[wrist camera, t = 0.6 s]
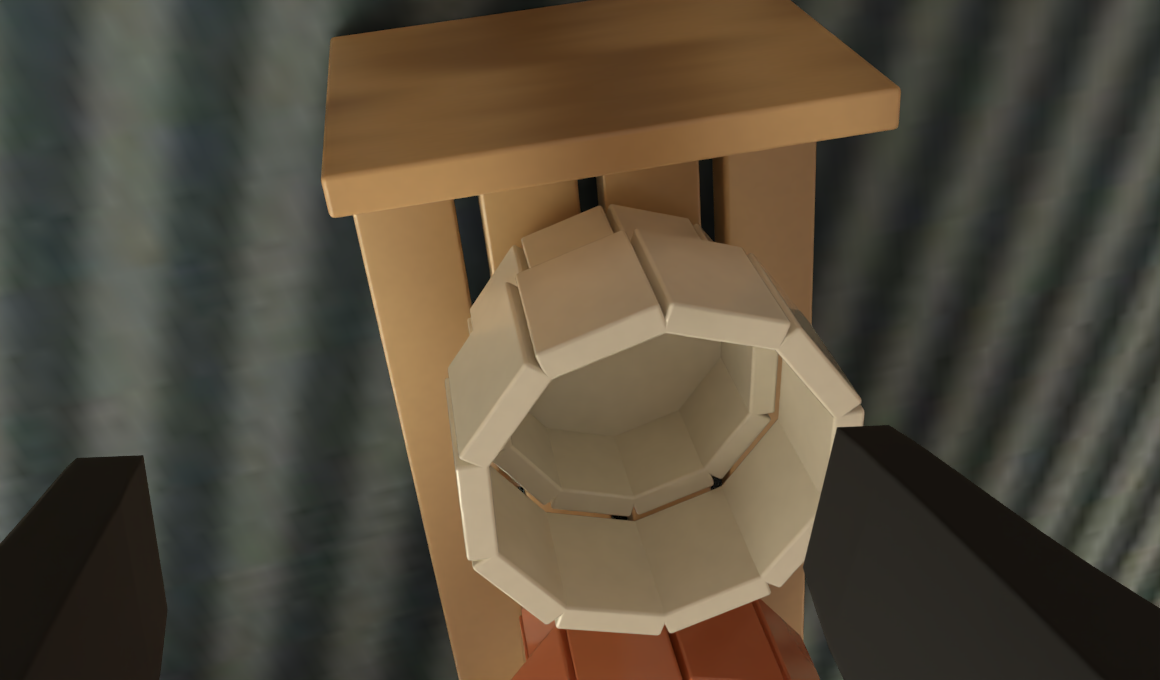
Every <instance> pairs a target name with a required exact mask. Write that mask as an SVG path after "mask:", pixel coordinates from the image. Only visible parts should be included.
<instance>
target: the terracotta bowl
mask: <svg viewBox="0 0 1160 680" xmlns="http://www.w3.org/2000/svg"><path fill="white" fill-rule="evenodd" d="M521 614H522V615H520V616H519V626H520V636H521V646H522V656H523V665H522V667H521V668H520V669H519V670H518V671H517V673H516V674H515V675H514V676H513V678H512V679H511V680H820V678H819V676H818V673H817V671H816V669H815V667H814V665H813V662H812V660H811V658H810V656H809V653H808V651H807V649H806V647H805V645H804V642H803V640H802V638H801V636H800V635H799V634H798V633H797V632H796V631H795V630H794V629H793V628H792V627H791V626H789V625H788V624H787V623H786V622H785V621H784V620H783V619H782V618H781V617H780V616H779V615H778V614H777V613H775V612H774V611H773V610H772V609H771V608H770V607H769V606H768V605H767V604H766V603H765V602H764V601H762V600H761V599H758V600H755V601H753V602H750V603H748V604H745V605H743V606H740V607H738V608H735V609H733V610H730V611H728V612H725V613H723V614H720V615H717V616H715V617H712V618H710V619H707V620H705V621H702V622H700V623H697V624H695V625H692V626H690V627H687V628H685V629H682V630H680V631H677V632H674V633H669V632H668V630H667V628H666V626H665V625H664V627H663V629H662V632H661V634H660V635H658V636H656V635H642V634H628V633H613V632H599V631H585V630H571V629H558V628H556V625H555V620H554V621H552V622H551V623H550V624H544V623H543V622H542V621H541V620H539V619H538V618H537V617H535V616H534V615H533V614H531V613H530V612H529V611H527V610H526V609H525V608H522V610H521Z"/></svg>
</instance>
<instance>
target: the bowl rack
mask: <svg viewBox="0 0 1160 680" xmlns="http://www.w3.org/2000/svg"><path fill="white" fill-rule="evenodd" d="M900 97H901V90H900V88H899V87H898V86H897V85H896V84H895V83H893V82H892V81H891V80H890V79H888V78H887V77H886V76H885V75H883V74H882V73H881V72H880V71H878V70H877V69H876V68H875V67H873V66H872V65H871V64H870V63H868V62H867V61H866V60H865V59H863V58H862V57H861V56H860V55H858V54H857V53H856V52H855V51H853V50H852V49H851V48H850V47H848V46H847V45H846V44H845V43H843V42H842V41H841V40H840V39H838V38H837V37H836V36H835V35H833V34H832V33H831V32H830V31H828V30H827V29H826V28H825V27H823V26H822V25H821V24H820V23H818V22H817V21H816V20H815V19H813V18H812V17H811V16H809V15H808V14H807V13H806V12H804V11H803V10H802V9H801V8H799V7H798V6H797V5H796V4H794V3H793V2H792V1H791V0H591V1H584V2H577V3H570V4H563V5H556V6H549V7H542V8H535V9H528V10H521V11H514V12H507V13H500V14H493V15H486V16H479V17H472V18H465V19H458V20H451V21H444V22H437V23H430V24H423V25H416V26H409V27H402V28H395V29H388V30H381V31H374V32H367V33H360V34H353V35H346V36H339V37H333V38H332V39H331V41H330V54H329V69H328V84H327V99H326V114H325V129H324V144H323V159H322V174H321V183H322V187H323V191H324V195H325V200H326V204H327V208H328V212H329V214H330V215H331V217H333V218H338V217H344V216H350V215H353V218H354V222H355V227H356V231H357V235H358V240H359V244H360V249H361V253H362V257H363V262H364V266H365V271H366V275H367V279H368V284H369V288H370V292H371V297H372V301H373V306H374V310H375V314H376V319H377V323H378V328H379V332H380V336H381V341H382V345H383V349H384V354H385V358H386V363H387V367H388V371H389V376H390V380H391V385H392V389H393V393H394V398H395V402H396V406H397V411H398V415H399V420H400V424H401V428H402V433H403V437H404V442H405V446H406V450H407V455H408V459H409V463H410V468H411V472H412V477H413V481H414V485H415V490H416V494H417V499H418V503H419V507H420V512H421V516H422V520H423V525H424V529H425V534H426V538H427V542H428V547H429V551H430V556H431V560H432V564H433V569H434V573H435V577H436V582H437V586H438V591H439V595H440V599H441V604H442V608H443V613H444V617H445V621H446V626H447V630H448V634H449V639H450V643H451V648H452V652H453V656H454V661H455V665H456V670H457V674H458V678H459V680H511V679H512V678H513V676H514V675H515V674H516V673H517V671H518V670H519V669H520V668H521V667H522V665H523V656H522V646H521V636H520V626H519V616H520V615H522V614H521V610H522V608H523V607H522V606H521V605H519V604H518V603H517V602H516V601H514V600H513V599H512V598H510V597H509V596H508V595H506V594H505V593H504V592H502V591H501V590H500V589H498V588H497V587H496V586H494V585H493V584H492V583H491V582H489V581H488V580H487V579H485V578H484V577H483V576H481V575H480V574H479V573H477V572H476V571H475V570H474V569H473V567H472V561H469V560H468V559H467V557H466V549H465V542H464V534H463V526H462V519H461V511H460V503H459V496H458V488H457V481H456V473H455V465H454V457H453V448H452V440H451V432H450V424H449V415H448V407H447V399H446V390H445V379H446V378H449V377H448V367H449V365H450V364H451V362H452V361H453V359H454V358H455V357H456V355H457V354H458V352H459V351H460V349H461V348H462V346H463V345H464V343H465V342H466V340H467V339H468V337H469V333H468V324H467V320H468V318H470V317H471V316H470V308H471V307H472V303H471V297H470V291H469V285H468V279H467V274H466V268H465V262H464V256H463V250H462V244H461V239H460V233H459V227H458V221H457V215H456V209H455V203H454V199H458V198H464V197H470V196H477V195H478V201H479V207H480V214H481V220H482V226H483V233H484V239H485V245H486V252H487V258H488V264H489V271H490V277H492V275H493V274H494V272H495V271H496V269H497V268H498V266H499V265H500V263H501V262H502V260H503V259H504V257H505V256H506V254H507V253H508V251H509V250H510V248H511V247H512V246H513V245H516V246H518V247H520V248H522V249H523V247H522V243H521V238H522V237H524V236H527V235H529V234H532V233H534V232H536V231H539V230H541V229H544V228H546V227H548V226H551V225H553V224H556V223H558V222H560V221H563V220H565V219H568V218H570V217H572V216H575V215H577V214H580V213H581V210H580V200H579V190H578V181H577V179H584V178H590V177H596V183H597V194H598V205H599V206H602V207H603V210H604V212H605V214H606V213H607V210H608V207H609V205H610V204H614V205H619V206H625V207H630V208H635V209H641V210H646V211H651V212H657V213H662V214H667V215H673V216H678V217H683V218H688V219H690V221H691V222H692V224H693V225H694V224H699V225H700V226H701V209H700V181H699V160H704V159H710V158H712V160H713V195H714V230H715V242H716V243H722V244H727V245H733V246H738V247H741V248H743V249H744V251H745V253H746V254H749V253H752V254H754V255H755V256H756V258H757V259H758V260H759V261H760V262H761V264H762V265H763V266H764V267H765V269H766V270H767V271H768V272H769V273H770V275H771V276H772V277H773V278H774V280H775V281H776V282H777V283H778V284H779V286H780V287H781V288H782V289H783V290H784V292H785V293H786V294H787V295H788V297H789V298H790V299H791V300H792V301H793V303H794V304H795V305H796V306H797V308H798V309H799V310H800V311H801V312H802V314H803V315H804V316H805V317H806V319H807V320H808V321H809V322H810V324H811V325H812V290H813V253H814V215H815V178H816V142H817V141H823V140H830V139H836V138H842V137H849V136H855V135H861V134H868V133H874V132H880V131H886V130H893V129H896V128H898V125H899V112H900ZM781 371H782V358H781V356H780V355H779V356H778V370H777V385H776V400H775V411H774V412H773V413H769V414H768V415H769V416H770V418H771V420H770V422H769V423H768V425H767V426H766V427H765V428H764V429H763V431H762V432H761V433H760V434H759V435H758V437H757V438H756V439H755V440H754V441H753V443H752V444H751V445H750V446H749V447H748V449H747V450H746V451H745V452H744V453H743V455H742V456H741V457H740V458H739V459H738V461H737V462H736V463H735V464H734V465H733V467H732V468H731V469H730V470H729V471H728V473H727V474H726V475H725V476H724V477H723V478H722V485H723V484H724V482H725V481H726V480H727V479H728V478H729V476H730V475H731V474H732V473H733V472H734V470H735V469H736V468H737V467H738V466H739V464H740V463H741V462H742V461H743V460H744V458H745V457H746V456H747V455H748V454H749V452H750V451H751V450H752V449H753V448H754V447H755V445H756V444H757V443H758V442H759V441H760V439H761V438H762V437H763V436H764V435H765V433H766V432H767V431H768V430H769V429H770V427H771V426H772V425H773V424H774V423H775V421H776V420H777V419H778V414H779V399H780V385H781ZM491 466H492V467H493V468H494V469H495V470H496V471H498V472H499V473H500V474H501V475H502V476H504V477H505V478H506V479H507V480H508V481H510V482H511V483H512V484H513V485H514V486H515V487H522V486H520V485H519V484H518V483H517V482H516V481H514V480H513V479H512V478H511V477H510V476H509V475H507V474H506V473H505V472H504V471H503V470H501V469H500V468H499V467H498V466H497V465H496V464H494V463H493V462H492V463H491ZM708 491H711V487H708V488H706V489H703V490H701V491H698V492H696V493H693V494H691V495H688V496H686V497H683V498H681V499H678V500H676V501H673V502H671V503H668V504H666V505H663V506H661V507H658V508H656V509H653V510H651V511H648V512H646V513H643V514H641V515H638V514H637V513H636V511H635V509H634V507H633V510H632V512H631V515H630V516H628V517H627V520H630V521H636V520H638V519H641V518H643V517H646V516H648V515H651V514H653V513H656V512H658V511H661V510H663V509H666V508H668V507H671V506H673V505H676V504H678V503H681V502H683V501H686V500H688V499H691V498H693V497H696V496H698V495H701V494H703V493H706V492H708ZM524 493H525V495H526V496H527V497H529V498H530V499H531V500H532V501H533V502H534V503H536V504H537V505H538V506H539V507H540V508H542V509H543V510H544V511H545V512H551V513H561V514H571V515H580V516H590V517H600V518H610V519H612V515H607V514H597V513H587V512H578V511H568V510H558V509H553V508H552V507H551V503H550V502H549V503H547V504H546V505H543V504H542V503H540V502H539V501H538V500H537V499H536V498H535V497H533V496H532V495H531V494H530V493H529V492H527V491H526V490H525V489H524ZM803 564H804V562H803V563H802V565H801V566H800V567H799V568H798V569H797V570H796V571H795V572H794V573H793V574H792V576H791V577H790V578H789V579H788V580H787V581H786V582H785V583H784V584H783V585H782V586H781V587H776V586H773V585H771V584H769V587H770V589H771V594H770V595H768V596H766V597H763V598H761V600H762V601H764V602H765V603H766V604H767V605H768V606H769V607H770V608H771V609H772V610H773V611H774V612H775V613H777V614H778V615H779V616H780V617H781V618H782V619H783V620H784V621H785V622H786V623H787V624H788V625H789V626H791V627H792V628H793V629H794V630H795V631H796V632H797V633H798V634H799V635H800V636H801V638H802V640H803V628H804V590H805V573H804V570H803Z"/></svg>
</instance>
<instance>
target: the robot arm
mask: <svg viewBox="0 0 1160 680" xmlns="http://www.w3.org/2000/svg"><path fill="white" fill-rule="evenodd" d="M803 570H804V573H805V576H806V580H807V583H808V586H809V589H810V592H811V596H812V599H813V602H814V605H815V609H816V612H817V615H818V618H819V620H820V623H821V626H822V629H823V632H824V635H825V638H826V641H827V643H828V646H829V649H830V651H831V654H832V656H833V658H834V660H835V662H836V664H837V666H838V669H839V671H840V673H841V675H842V677H843V679H844V680H1160V608H1159V607H1157V606H1155V605H1154V604H1152V603H1150V602H1149V601H1147V600H1145V599H1144V598H1142V597H1141V596H1139V595H1137V594H1136V593H1134V592H1133V591H1131V590H1130V589H1128V588H1126V587H1125V586H1123V585H1122V584H1120V583H1119V582H1117V581H1115V580H1114V579H1112V578H1111V577H1109V576H1107V575H1106V574H1104V573H1103V572H1101V571H1100V570H1098V569H1096V568H1095V567H1093V566H1092V565H1090V564H1089V563H1087V562H1086V561H1084V560H1083V559H1081V558H1080V557H1078V556H1077V555H1075V554H1074V553H1072V552H1071V551H1069V550H1068V549H1066V548H1065V547H1063V546H1062V545H1060V544H1059V543H1057V542H1056V541H1054V540H1053V539H1052V538H1050V537H1049V536H1047V535H1046V534H1044V533H1043V532H1041V531H1040V530H1038V529H1037V528H1036V527H1034V526H1033V525H1031V524H1030V523H1028V522H1027V521H1026V520H1024V519H1023V518H1021V517H1020V516H1019V515H1017V514H1016V513H1014V512H1013V511H1011V510H1010V509H1009V508H1007V507H1006V506H1004V505H1003V504H1002V503H1000V502H999V501H997V500H996V499H995V498H993V497H992V496H990V495H989V494H988V493H986V492H985V491H984V490H982V489H981V488H979V487H978V486H977V485H975V484H974V483H972V482H971V481H970V480H968V479H967V478H965V477H964V476H963V475H961V474H960V473H959V472H957V471H956V470H954V469H953V468H952V467H950V466H949V465H947V464H946V463H945V462H943V461H942V460H940V459H939V458H938V457H936V456H935V455H933V454H932V453H930V452H929V451H928V450H926V449H925V448H923V447H922V446H920V445H919V444H917V443H916V442H915V441H913V440H912V439H910V438H909V437H907V436H906V435H904V434H902V433H901V432H899V431H898V430H896V429H894V428H893V427H891V426H889V425H880V426H855V427H837V429H836V434H835V438H834V442H833V446H832V450H831V454H830V458H829V462H828V466H827V470H826V474H825V478H824V483H823V487H822V491H821V495H820V499H819V503H818V507H817V511H816V515H815V519H814V523H813V528H812V532H811V536H810V540H809V544H808V548H807V552H806V556H805V560H804V564H803ZM166 618H167V603H166V597H165V591H164V584H163V578H162V572H161V565H160V559H159V553H158V546H157V540H156V534H155V527H154V521H153V515H152V508H151V502H150V496H149V489H148V483H147V477H146V470H145V464H144V458H143V455H141V456H116V457H92V458H76V459H75V460H74V461H73V462H72V463H71V464H70V465H69V466H68V467H67V468H66V469H65V470H64V471H63V472H62V473H61V474H60V476H59V477H58V478H57V479H56V480H55V481H54V482H53V484H52V485H51V486H50V487H49V488H48V489H47V491H46V492H45V493H44V494H43V495H42V496H41V498H40V499H39V500H38V501H37V502H36V503H35V505H34V506H33V507H32V508H31V509H30V510H29V512H28V513H27V514H26V515H25V516H24V517H23V519H22V520H21V521H20V522H19V523H18V524H17V525H16V527H15V528H14V529H13V530H12V531H11V532H10V533H9V535H8V536H7V537H6V538H5V539H4V540H3V541H2V542H1V544H0V680H159V677H160V670H161V662H162V653H163V645H164V636H165V627H166Z"/></svg>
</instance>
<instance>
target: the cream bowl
mask: <svg viewBox="0 0 1160 680" xmlns="http://www.w3.org/2000/svg"><path fill="white" fill-rule="evenodd" d="M521 243H522V247H523V249H522V248H520V247H518V246H516V245H513V246H512V247H511V248H510V250H509V251H508V253H507V254H506V256H505V257H504V259H503V260H502V262H501V263H500V265H499V266H498V268H497V269H496V271H495V272H494V274H493V275H492V277H491V278H490V280H489V281H488V283H487V284H486V286H485V287H484V289H483V290H482V292H481V293H480V295H479V296H478V298H477V299H476V301H475V302H474V304H473V305H472V307H471V308H470V316H471V317H470V318H468V320H467V324H468V333H469V337H468V339H467V340H466V342H465V343H464V345H463V346H462V348H461V349H460V351H459V352H458V354H457V355H456V357H455V358H454V359H453V361H452V362H451V364H450V365H449V367H448V377H449V378H446V379H445V390H446V399H447V407H448V415H449V424H450V432H451V440H452V448H453V457H454V465H455V473H456V481H457V488H458V496H459V503H460V511H461V519H462V526H463V534H464V542H465V549H466V557H467V559H468V560H469V561H472V567H473V569H474V570H475V571H476V572H477V573H479V574H480V575H481V576H483V577H484V578H485V579H487V580H488V581H489V582H491V583H492V584H493V585H494V586H496V587H497V588H498V589H500V590H501V591H502V592H504V593H505V594H506V595H508V596H509V597H510V598H512V599H513V600H514V601H516V602H517V603H518V604H519V605H521V606H522V607H523V608H525V609H526V610H527V611H529V612H530V613H531V614H533V615H534V616H535V617H537V618H538V619H539V620H541V621H542V622H543V623H544V624H550V623H551V622H552V621H554V620H555V625H556V628H558V629H571V630H585V631H599V632H613V633H628V634H642V635H656V636H658V635H660V634H661V632H662V629H663V627H664V625H665V626H666V628H667V630H668V632H669V633H674V632H677V631H680V630H682V629H685V628H687V627H690V626H692V625H695V624H697V623H700V622H702V621H705V620H707V619H710V618H712V617H715V616H717V615H720V614H723V613H725V612H728V611H730V610H733V609H735V608H738V607H740V606H743V605H745V604H748V603H750V602H753V601H755V600H758V599H761V598H763V597H766V596H768V595H770V594H771V589H770V587H769V584H771V585H773V586H776V587H781V586H782V585H783V584H784V583H785V582H786V581H787V580H788V579H789V578H790V577H791V576H792V574H793V573H794V572H795V571H796V570H797V569H798V568H799V567H800V566H801V565H802V563H803V562H804V560H805V556H806V552H807V548H808V544H809V540H810V536H811V532H812V528H813V523H814V519H815V515H816V511H817V507H818V503H819V499H820V495H821V491H822V487H823V483H824V478H825V474H826V470H827V466H828V462H829V458H830V454H831V450H832V446H833V442H834V438H835V434H836V429H837V427H855V426H863V422H864V414H865V412H864V409H863V408H862V406H861V405H860V404H861V402H862V401H861V398H860V396H859V395H858V393H857V392H856V390H855V389H854V387H853V386H852V384H851V383H850V381H849V380H848V378H847V377H846V376H845V374H844V373H843V371H842V370H841V368H840V367H839V365H838V364H837V362H836V361H835V359H834V358H833V356H832V355H831V353H830V352H829V350H828V349H827V347H826V346H825V345H824V343H823V342H822V340H821V339H820V337H819V336H818V334H817V333H816V331H815V330H814V328H813V327H812V325H811V324H810V322H809V321H808V320H807V319H806V317H805V316H804V315H803V314H802V312H801V311H800V310H799V309H798V308H797V306H796V305H795V304H794V303H793V301H792V300H791V299H790V298H789V297H788V295H787V294H786V293H785V292H784V290H783V289H782V288H781V287H780V286H779V284H778V283H777V282H776V281H775V280H774V278H773V277H772V276H771V275H770V273H769V272H768V271H767V270H766V269H765V267H764V266H763V265H762V264H761V262H760V261H759V260H758V259H757V258H756V256H755V255H754V254H752V253H749V254H746V253H745V251H744V249H743V248H741V247H738V246H733V245H727V244H722V243H716V242H713V241H712V239H711V238H710V237H709V236H708V235H707V233H706V232H705V231H704V230H703V229H702V228H701V226H700V225H699V224H694V225H693V224H692V222H691V221H690V219H688V218H683V217H678V216H673V215H667V214H662V213H657V212H651V211H646V210H641V209H635V208H630V207H625V206H619V205H614V204H610V205H609V207H608V210H607V213H606V214H605V212H604V210H603V207H602V206H596V207H594V208H592V209H589V210H587V211H584V212H582V213H580V214H577V215H575V216H572V217H570V218H568V219H565V220H563V221H560V222H558V223H556V224H553V225H551V226H548V227H546V228H544V229H541V230H539V231H536V232H534V233H532V234H529V235H527V236H524V237H522V238H521ZM779 355H780V356H781V358H782V371H781V385H780V399H779V414H778V419H777V420H776V421H775V423H774V424H773V425H772V426H771V427H770V429H769V430H768V431H767V432H766V433H765V435H764V436H763V437H762V438H761V439H760V441H759V442H758V443H757V444H756V445H755V447H754V448H753V449H752V450H751V451H750V452H749V454H748V455H747V456H746V457H745V458H744V460H743V461H742V462H741V463H740V464H739V466H738V467H737V468H736V469H735V470H734V472H733V473H732V474H731V475H730V476H729V478H728V479H727V480H726V481H725V482H724V484H723V485H722V486H721V487H718V488H716V489H713V490H711V491H708V492H706V493H703V494H701V495H698V496H696V497H693V498H691V499H688V500H686V501H683V502H681V503H678V504H676V505H673V506H671V507H668V508H666V509H663V510H661V511H658V512H656V513H653V514H651V515H648V516H646V517H643V518H641V519H638V520H636V521H630V520H620V519H610V518H600V517H590V516H580V515H571V514H561V513H551V512H545V511H544V510H543V509H542V508H540V507H539V506H538V505H537V504H536V503H534V502H533V501H532V500H531V499H530V498H529V497H527V496H526V495H525V494H524V493H523V492H521V491H520V490H519V489H518V488H517V487H515V486H514V485H513V484H512V483H511V482H510V481H508V480H507V479H506V478H505V477H504V476H502V475H501V474H500V473H499V472H498V471H496V470H495V469H494V468H493V467H492V466H491V463H492V462H493V463H494V464H496V465H497V466H498V467H499V468H500V469H501V470H503V471H504V472H505V473H506V474H507V475H509V476H510V477H511V478H512V479H513V480H514V481H516V482H517V483H518V484H519V485H520V486H522V487H523V488H524V489H525V490H526V491H527V492H529V493H530V494H531V495H532V496H533V497H535V498H536V499H537V500H538V501H539V502H540V503H542V504H543V505H546V504H547V503H549V502H550V503H551V507H552V508H553V509H558V510H568V511H578V512H587V513H597V514H607V515H617V516H627V517H628V516H630V515H631V512H632V510H633V507H634V509H635V511H636V513H637V514H638V515H641V514H643V513H646V512H648V511H651V510H653V509H656V508H658V507H661V506H663V505H666V504H668V503H671V502H673V501H676V500H678V499H681V498H683V497H686V496H688V495H691V494H693V493H696V492H698V491H701V490H703V489H706V488H708V487H711V486H713V485H714V481H713V478H712V476H715V477H717V478H719V479H722V478H723V477H724V476H725V475H726V474H727V473H728V471H729V470H730V469H731V468H732V467H733V465H734V464H735V463H736V462H737V461H738V459H739V458H740V457H741V456H742V455H743V453H744V452H745V451H746V450H747V449H748V447H749V446H750V445H751V444H752V443H753V441H754V440H755V439H756V438H757V437H758V435H759V434H760V433H761V432H762V431H763V429H764V428H765V427H766V426H767V425H768V423H769V422H770V420H771V418H770V416H769V415H768V414H769V413H773V412H774V411H775V400H776V385H777V370H778V356H779ZM711 475H712V476H711Z"/></svg>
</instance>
